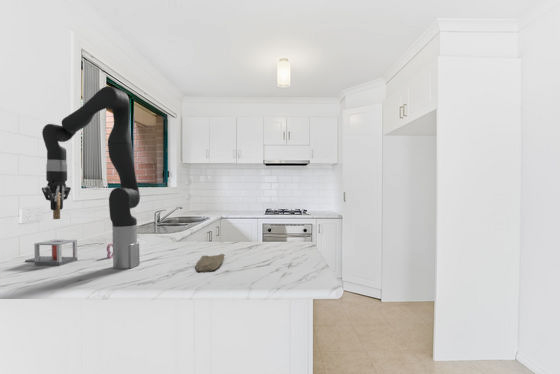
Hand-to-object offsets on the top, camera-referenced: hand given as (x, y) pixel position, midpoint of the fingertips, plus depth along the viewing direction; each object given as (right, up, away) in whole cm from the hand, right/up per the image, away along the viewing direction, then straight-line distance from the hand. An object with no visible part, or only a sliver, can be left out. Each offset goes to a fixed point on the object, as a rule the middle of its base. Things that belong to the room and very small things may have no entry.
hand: (56, 209), depth 141 cm
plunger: (-2, -22, +2) cm, 22 cm away
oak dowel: (0, -4, 0) cm, 4 cm away
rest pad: (-13, -24, +8) cm, 28 cm away
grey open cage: (-2, -24, +2) cm, 24 cm away
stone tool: (+69, -24, -5) cm, 73 cm away
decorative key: (+19, -24, +18) cm, 36 cm away
